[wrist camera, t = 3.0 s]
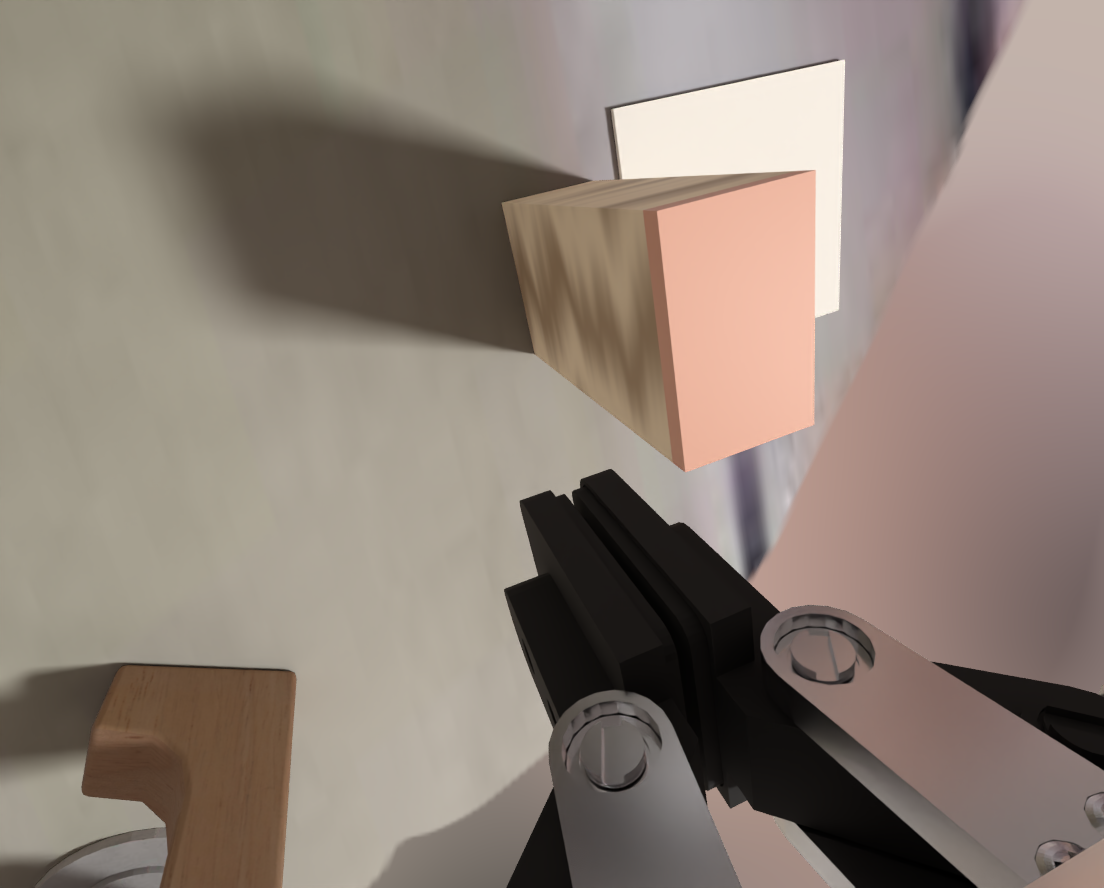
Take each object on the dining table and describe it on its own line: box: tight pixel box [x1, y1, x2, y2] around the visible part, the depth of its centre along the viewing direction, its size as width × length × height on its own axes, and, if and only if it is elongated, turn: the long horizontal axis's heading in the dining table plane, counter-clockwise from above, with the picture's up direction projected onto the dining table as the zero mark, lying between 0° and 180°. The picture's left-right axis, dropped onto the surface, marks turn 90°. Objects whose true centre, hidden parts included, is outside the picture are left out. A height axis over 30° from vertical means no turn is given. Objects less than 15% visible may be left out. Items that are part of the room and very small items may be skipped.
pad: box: [611, 60, 845, 318], centre depth 34 cm, size 14×14×1 cm
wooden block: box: [82, 665, 296, 888], centre depth 26 cm, size 9×4×18 cm, turn 70°
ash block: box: [502, 170, 816, 472], centre depth 25 cm, size 8×5×16 cm, turn 12°
